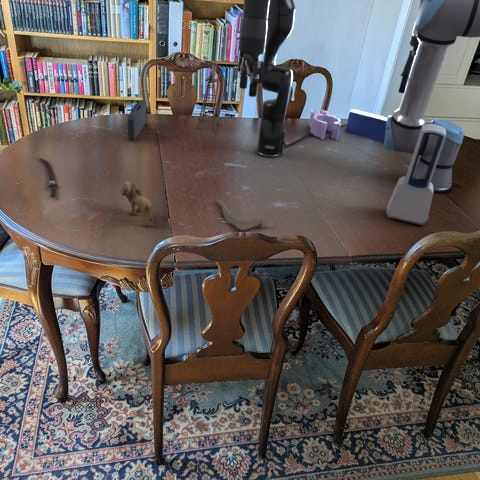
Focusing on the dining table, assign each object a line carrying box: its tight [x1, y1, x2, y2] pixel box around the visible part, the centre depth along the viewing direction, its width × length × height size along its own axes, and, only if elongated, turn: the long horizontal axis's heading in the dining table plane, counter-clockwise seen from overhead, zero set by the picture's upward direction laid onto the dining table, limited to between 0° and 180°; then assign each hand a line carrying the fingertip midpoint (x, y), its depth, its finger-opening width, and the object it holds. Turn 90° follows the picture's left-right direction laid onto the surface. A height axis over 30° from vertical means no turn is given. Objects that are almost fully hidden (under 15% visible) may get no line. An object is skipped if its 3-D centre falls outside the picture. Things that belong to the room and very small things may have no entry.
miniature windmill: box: [196, 55, 220, 132], centre depth 197 cm, size 9×8×30 cm
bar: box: [344, 108, 388, 143], centre depth 211 cm, size 25×5×10 cm, turn 58°
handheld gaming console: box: [127, 99, 147, 141], centre depth 190 cm, size 23×3×10 cm, turn 178°
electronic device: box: [386, 124, 446, 226], centre depth 142 cm, size 12×8×30 cm, turn 71°
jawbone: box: [216, 198, 270, 232], centre depth 140 cm, size 9×20×2 cm, turn 50°
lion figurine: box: [119, 181, 159, 227], centre depth 134 cm, size 15×5×9 cm, turn 50°
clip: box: [308, 109, 342, 141], centre depth 212 cm, size 20×12×7 cm, turn 11°
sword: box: [40, 158, 59, 198], centre depth 151 cm, size 31×3×1 cm, turn 26°
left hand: (247, 92), depth 141 cm, fingers open, 8 cm apart
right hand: (406, 90), depth 198 cm, fingers open, 13 cm apart
